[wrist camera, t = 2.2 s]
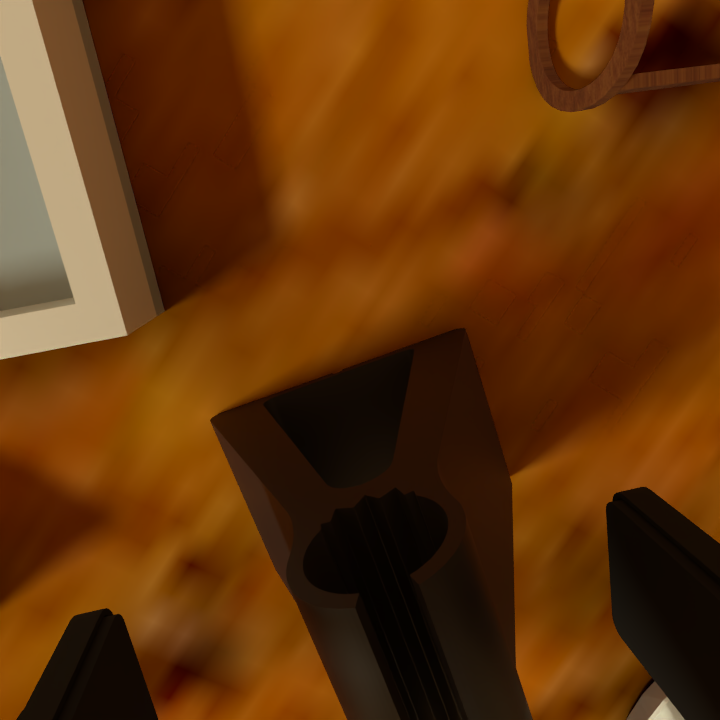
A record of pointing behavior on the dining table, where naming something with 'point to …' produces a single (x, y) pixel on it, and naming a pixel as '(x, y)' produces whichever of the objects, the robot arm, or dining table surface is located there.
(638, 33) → the glasses
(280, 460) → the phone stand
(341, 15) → the dining table surface
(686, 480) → the dining table surface
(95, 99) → the cream rectangular tray
